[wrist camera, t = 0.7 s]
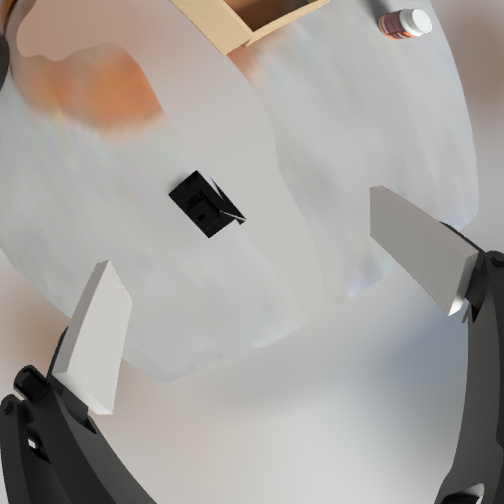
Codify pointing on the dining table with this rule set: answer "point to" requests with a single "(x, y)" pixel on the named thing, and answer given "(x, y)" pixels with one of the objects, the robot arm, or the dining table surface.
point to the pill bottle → (405, 24)
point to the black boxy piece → (205, 204)
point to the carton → (232, 22)
